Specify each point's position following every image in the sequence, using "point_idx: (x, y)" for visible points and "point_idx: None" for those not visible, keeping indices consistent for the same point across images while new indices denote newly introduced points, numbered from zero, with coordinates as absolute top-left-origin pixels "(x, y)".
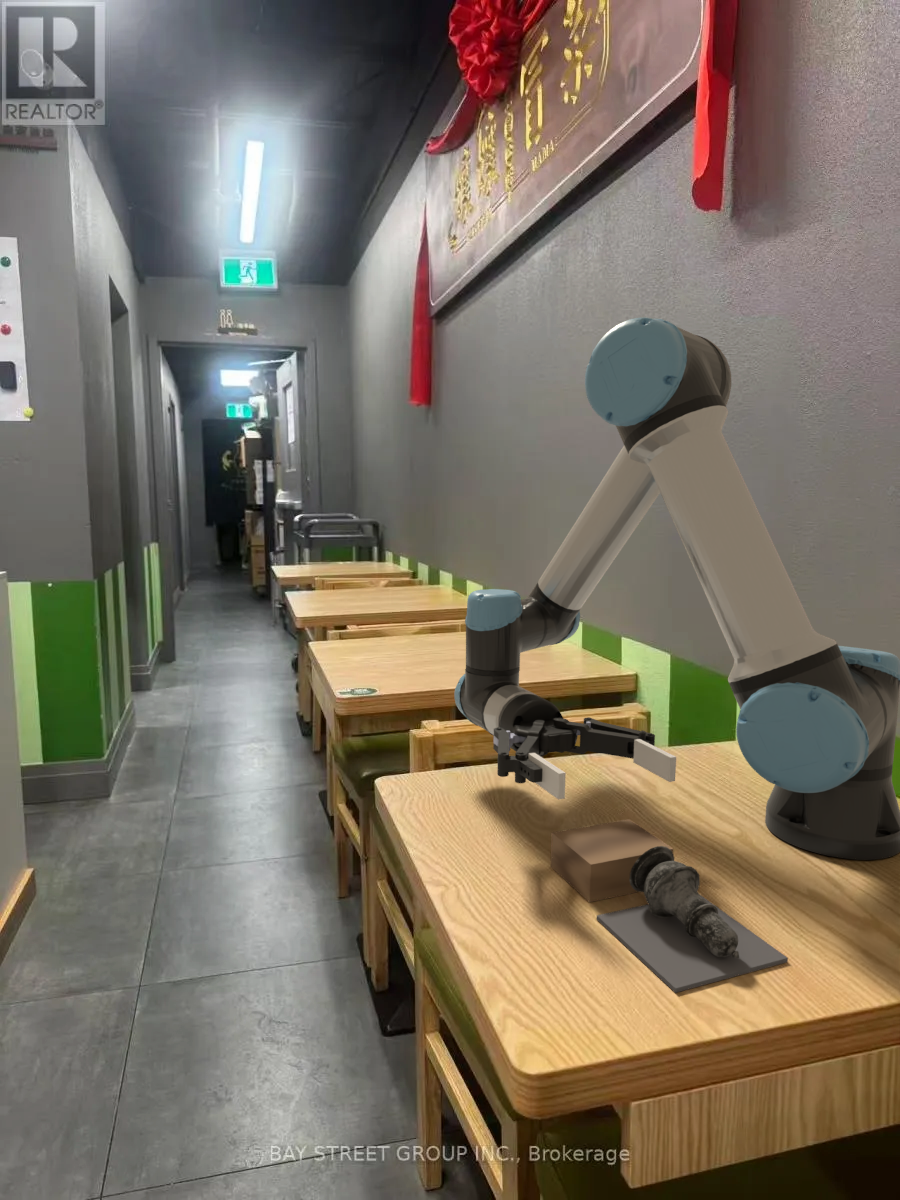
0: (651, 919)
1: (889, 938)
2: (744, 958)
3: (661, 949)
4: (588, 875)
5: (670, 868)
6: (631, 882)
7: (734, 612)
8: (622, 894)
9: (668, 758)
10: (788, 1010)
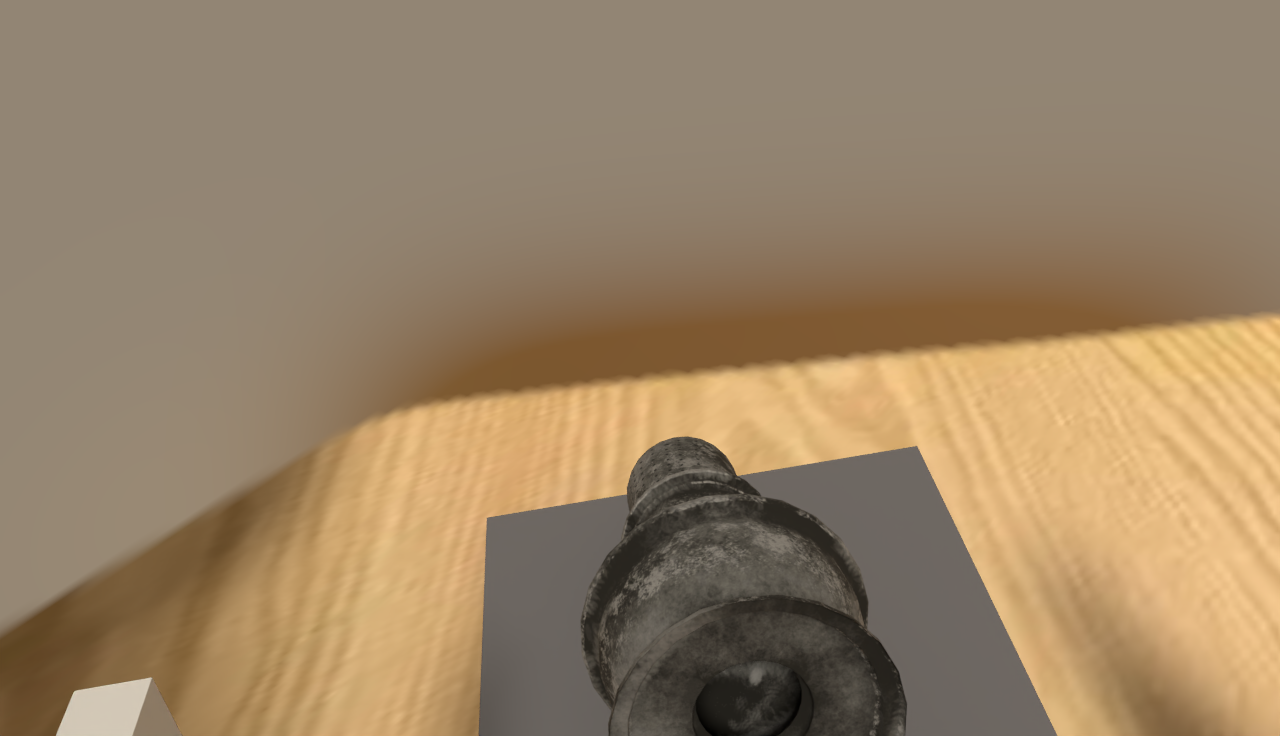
0: None
1: (76, 588)
2: (621, 524)
3: (878, 585)
4: None
5: (747, 519)
6: None
7: None
8: None
9: (152, 717)
10: (647, 401)
